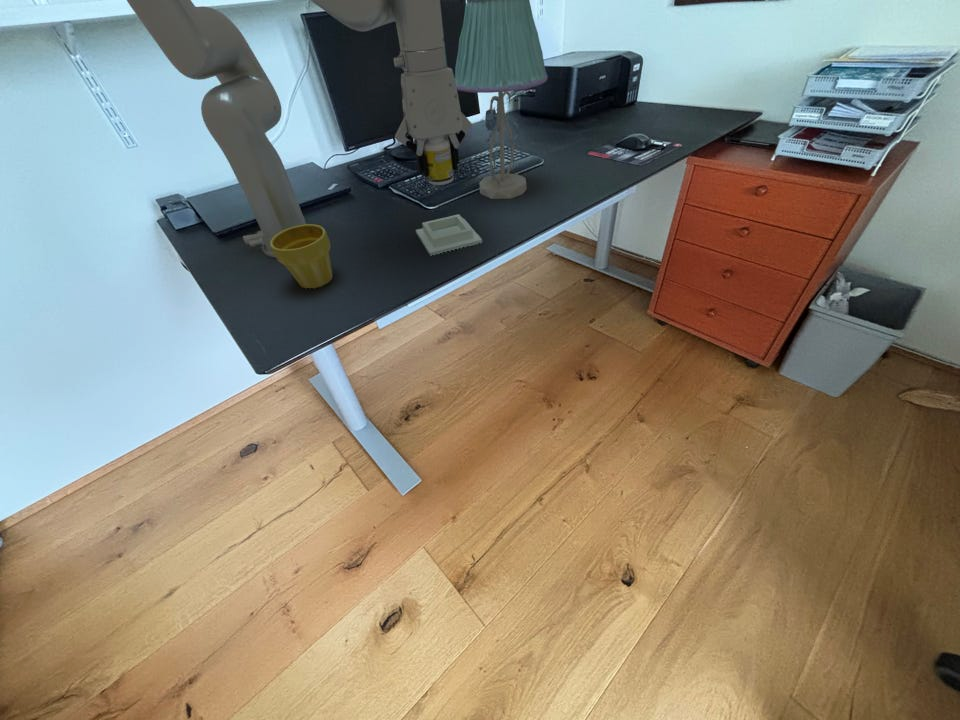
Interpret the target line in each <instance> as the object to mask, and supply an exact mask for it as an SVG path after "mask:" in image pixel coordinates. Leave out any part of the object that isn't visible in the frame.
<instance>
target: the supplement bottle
mask: <svg viewBox="0 0 960 720" xmlns="http://www.w3.org/2000/svg"><path fill="white" fill-rule="evenodd" d="M423 152H424V154H425V155H426V160H427V166H428V173H429V176H428V177H426V178H427V182H428V183H429V184H431V185H435V186H442V185H448V184H450V183H451V182H453V181H454V176H455V175H454V170H453V166H452V158H451V150H450V143H449V140H448V138H446V137H445V136H441V137H436V138H431V139H425V140H424V147H423Z"/></svg>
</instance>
